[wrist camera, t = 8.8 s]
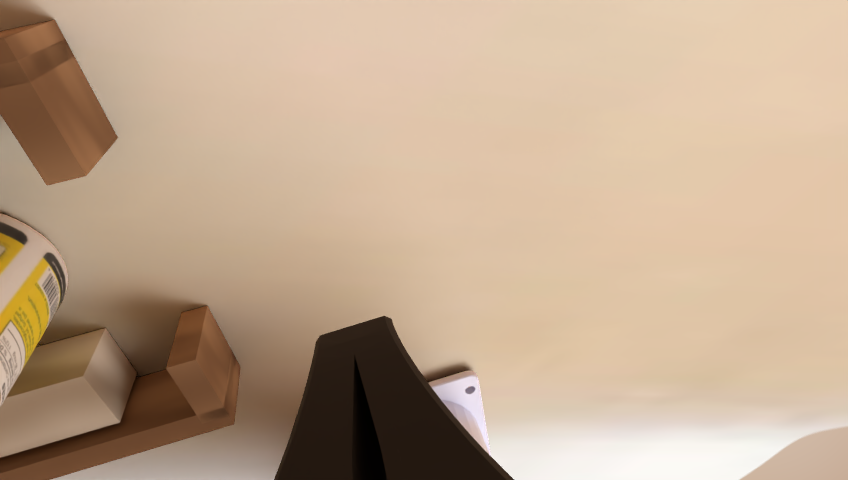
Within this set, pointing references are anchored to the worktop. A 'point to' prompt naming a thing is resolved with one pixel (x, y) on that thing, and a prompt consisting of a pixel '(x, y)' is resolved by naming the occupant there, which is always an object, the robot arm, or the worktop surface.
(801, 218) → the worktop surface
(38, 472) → the socket box
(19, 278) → the supplement bottle
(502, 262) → the worktop surface
